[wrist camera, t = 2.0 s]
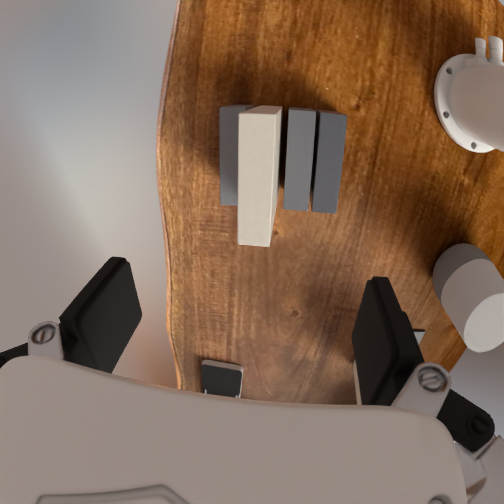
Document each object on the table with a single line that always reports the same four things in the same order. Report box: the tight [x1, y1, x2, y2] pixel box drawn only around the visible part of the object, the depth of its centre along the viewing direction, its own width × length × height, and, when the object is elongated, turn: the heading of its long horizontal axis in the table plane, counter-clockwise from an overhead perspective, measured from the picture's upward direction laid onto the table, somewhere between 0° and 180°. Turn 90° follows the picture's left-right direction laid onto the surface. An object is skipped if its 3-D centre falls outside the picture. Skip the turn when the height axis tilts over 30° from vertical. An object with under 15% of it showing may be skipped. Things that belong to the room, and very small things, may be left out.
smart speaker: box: [433, 243, 504, 352], centre depth 31 cm, size 10×9×14 cm
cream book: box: [238, 105, 283, 247], centre depth 27 cm, size 10×2×14 cm, turn 179°
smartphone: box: [201, 359, 243, 398], centre depth 56 cm, size 8×1×15 cm
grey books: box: [220, 105, 347, 214], centre depth 30 cm, size 10×12×6 cm
